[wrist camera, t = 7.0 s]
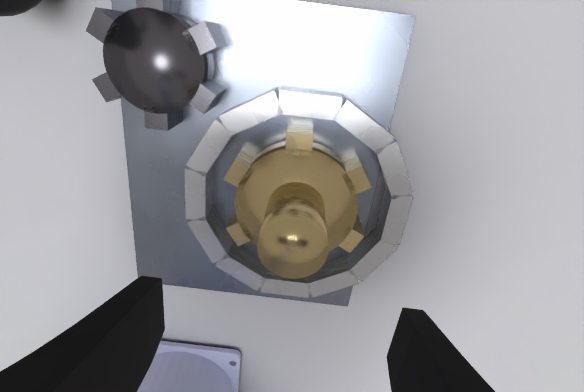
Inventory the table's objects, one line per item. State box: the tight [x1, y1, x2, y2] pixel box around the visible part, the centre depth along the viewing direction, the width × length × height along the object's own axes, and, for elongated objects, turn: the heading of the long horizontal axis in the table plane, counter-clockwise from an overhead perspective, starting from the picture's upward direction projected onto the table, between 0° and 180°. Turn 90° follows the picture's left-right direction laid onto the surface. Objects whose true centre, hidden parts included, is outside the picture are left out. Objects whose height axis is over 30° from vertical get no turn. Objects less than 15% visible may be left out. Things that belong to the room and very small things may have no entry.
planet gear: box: [223, 125, 372, 279], centre depth 16 cm, size 7×7×5 cm
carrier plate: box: [86, 0, 416, 306], centre depth 17 cm, size 16×15×3 cm
